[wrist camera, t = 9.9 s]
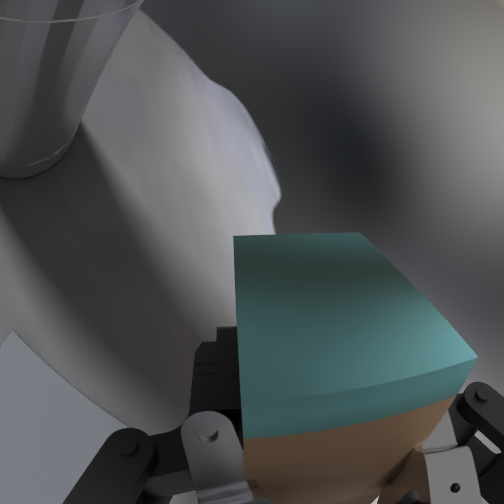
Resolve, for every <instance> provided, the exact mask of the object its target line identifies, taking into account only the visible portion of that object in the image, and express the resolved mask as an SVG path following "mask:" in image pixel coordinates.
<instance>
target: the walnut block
mask: <svg viewBox="0 0 504 504" xmlns="http://www.w3.org/2000/svg"><path fill="white" fill-rule="evenodd" d="M233 240H234V268H235V294H236V318H237V338H238V358H239V377H240V394H241V411H242V428H243V444H244V457H245V471H246V480H252V479H255V480H256V482H257V484H258V485H259V486H261V487H262V489H263V490H264V492H265V494H266V496H267V498H268V500H269V502H270V504H371V503H372V502H373V501H374V500H375V499H376V498H377V497H378V496H379V495H380V493H381V487H382V486H383V484H384V483H385V482H386V481H387V480H391V479H394V478H396V477H397V476H398V475H399V473H400V472H401V471H402V470H403V469H404V468H405V465H406V459H407V456H408V454H409V453H410V452H411V450H412V449H413V448H414V447H417V446H420V445H422V444H424V443H425V441H426V440H427V439H428V437H429V436H430V435H431V433H432V432H433V430H434V429H435V428H436V426H437V425H438V423H439V422H440V420H441V419H442V417H443V416H444V414H445V413H446V411H447V410H448V408H449V407H450V405H451V404H452V402H453V400H454V399H455V397H456V396H457V394H458V392H459V390H460V389H461V387H462V385H463V384H464V382H465V380H466V378H467V377H468V375H469V373H470V371H471V369H472V367H473V366H474V364H475V362H476V360H477V358H478V357H477V355H476V354H475V353H474V352H473V350H472V349H471V348H470V347H469V346H468V344H467V343H466V342H465V341H464V340H463V339H462V337H461V336H460V335H459V334H458V333H457V332H456V331H455V329H454V328H453V327H452V326H451V325H450V324H449V323H448V322H447V320H446V319H445V318H444V317H443V316H442V315H441V314H440V313H439V312H438V310H437V309H435V307H434V306H433V305H432V304H431V303H430V302H429V301H428V300H427V299H426V298H425V297H424V296H423V294H422V293H421V292H420V291H419V290H418V289H417V288H416V287H415V286H414V285H413V284H412V283H411V282H410V281H409V280H408V279H407V278H406V277H405V276H404V275H403V274H402V273H401V272H400V271H399V270H398V269H397V268H396V267H395V266H394V265H393V264H392V263H391V262H390V261H389V260H388V259H387V258H386V257H385V256H384V255H383V254H382V253H381V252H380V251H379V250H378V249H377V248H376V247H374V246H373V245H372V244H371V243H370V242H369V241H368V240H367V239H366V238H365V237H364V236H363V235H362V234H361V233H324V234H323V233H321V234H281V235H248V236H233Z"/></svg>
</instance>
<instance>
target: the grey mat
mask: <svg viewBox="0 0 504 504" xmlns="http://www.w3.org/2000/svg"><path fill="white" fill-rule="evenodd" d="M123 428H130V427H128V426H127V425H125V424H124V423H122V422H121V421H119V420H118V419H116V418H115V417H114V416H112V415H111V414H109V413H108V412H106V411H105V410H104V409H102V408H101V407H99V406H98V405H97V404H95V403H94V402H93V401H91V400H90V399H89V398H88V397H86V396H85V395H84V394H82V393H81V392H80V391H79V390H77V389H76V388H75V387H74V386H72V385H71V384H70V383H69V382H68V381H66V380H65V379H64V378H63V377H62V376H61V375H59V374H58V373H57V372H56V371H55V370H54V369H53V368H51V367H50V366H49V365H48V364H47V363H46V362H45V361H44V360H43V359H42V358H41V357H40V356H38V355H37V354H36V353H35V352H34V351H33V350H32V349H31V348H30V347H29V346H28V345H27V344H26V343H25V342H24V341H23V340H22V339H21V338H20V337H19V336H18V335H17V333H16V332H15V331H14V330H12V332H11V333H10V334H9V336H8V337H7V338H6V340H5V341H4V342H3V344H2V345H1V346H0V504H62V503H63V502H64V500H65V499H66V497H67V496H68V494H69V493H70V492H71V490H72V489H73V487H74V486H75V484H76V483H77V481H78V480H79V478H80V477H81V476H82V474H83V473H84V471H85V470H86V468H87V467H88V465H89V464H90V462H91V461H92V460H93V458H94V457H95V455H96V454H97V452H98V451H99V449H100V448H101V447H102V445H103V444H104V442H105V441H106V439H107V438H108V437H109V436H110V435H111V434H112V433H113V432H115V431H117V430H119V429H123Z"/></svg>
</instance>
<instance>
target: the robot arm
mask: <svg viewBox="0 0 504 504" xmlns="http://www.w3.org/2000/svg"><path fill="white" fill-rule="evenodd" d="M142 2H143V0H0V176H2V177H5V178H25V177H30V176H34V175H36V174H39V173H41V172H43V171H45V170H47V169H48V168H50V167H51V166H53V165H54V164H55V163H56V162H57V161H59V160H60V159H61V158H62V157H63V155H64V154H65V153H66V151H67V150H68V149H69V147H70V145H71V143H72V141H73V139H74V137H75V134H76V131H77V129H78V126H79V123H80V121H81V118H82V116H83V113H84V111H85V109H86V107H87V104H88V102H89V99H90V97H91V95H92V93H93V90H94V88H95V86H96V84H97V82H98V79H99V77H100V75H101V73H102V71H103V69H104V67H105V65H106V63H107V61H108V59H109V57H110V55H111V54H112V52H113V50H114V48H115V46H116V44H117V43H118V41H119V39H120V37H121V35H122V34H123V32H124V30H125V29H126V27H127V25H128V24H129V22H130V20H131V19H132V17H133V16H134V14H135V12H136V11H137V9H138V8H139V6H140V5H141V3H142ZM478 430H479V431H480V432H481V433H482V434H484V435H485V436H486V437H487V438H488V439H489V440H490V441H492V442H493V443H494V444H495V445H496V446H497V447H498V448H499V449H500V450H501V453H499V454H495V453H493V452H492V451H490V449H488V448H487V447H486V446H485V445H484V444H483V443H482V442H481V441H480V440H479V439H478V438H477V437H475V436H474V435H475V433H476V432H477V431H478ZM243 450H244V444H243V428H242V411H241V394H240V377H239V358H238V338H237V326H231V327H217V337H216V342H202V343H201V345H200V346H199V347H198V349H197V350H196V352H195V358H194V368H193V378H192V388H191V399H190V410H189V415H188V417H187V419H186V420H185V422H184V423H183V424H182V425H181V426H180V427H178V428H176V429H175V430H172V431H170V432H166V433H162V434H157V435H152V436H148V435H147V434H146V433H145V432H143V431H141V430H139V429H135V428H123V429H119V430H117V431H115V432H113V433H112V434H111V435H110V436H109V437H108V438H107V439H106V441H105V442H104V444H103V445H102V447H101V448H100V449H99V451H98V452H97V454H96V455H95V457H94V458H93V460H92V461H91V462H90V464H89V465H88V467H87V468H86V470H85V471H84V473H83V474H82V476H81V477H80V478H79V480H78V481H77V483H76V484H75V486H74V487H73V489H72V490H71V492H70V493H69V494H68V496H67V497H66V499H65V500H64V502H63V503H62V504H169V502H170V500H171V498H172V496H173V495H176V494H180V493H185V492H189V491H193V490H196V493H197V496H198V503H199V504H270V502H269V500H268V498H267V496H266V494H265V492H264V490H263V489H262V487H261V486H259V485H258V484H257V482H256V480H255V479H252V480H246V471H245V457H244V452H243ZM481 496H482V497H483V498H484V499H485V500H486V501H487V502H488V503H489V504H504V397H503V396H502V395H500V394H499V393H498V392H497V391H495V390H494V389H493V388H491V387H490V386H489V385H487V384H485V383H482V382H474V383H471V384H469V385H468V386H467V388H466V389H465V391H464V393H463V394H457V396H456V397H455V399H454V400H453V402H452V404H451V405H450V407H449V408H448V410H447V411H446V413H445V414H444V416H443V417H442V419H441V420H440V422H439V423H438V425H437V426H436V428H435V429H434V430H433V432H432V433H431V435H430V436H429V437H428V439H427V440H426V441H425V443H424V444H422V445H420V446H417V447H414V448H413V449H412V450H411V452H410V453H409V454H408V456H407V459H406V465H405V468H404V469H403V470H402V471H401V472H400V473H399V475H398V476H397V477H396V478H394V479H391V480H387V481H386V482H385V483H384V484H383V486H382V487H381V493H380V496H379V498H378V502H377V504H482V500H481Z"/></svg>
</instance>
